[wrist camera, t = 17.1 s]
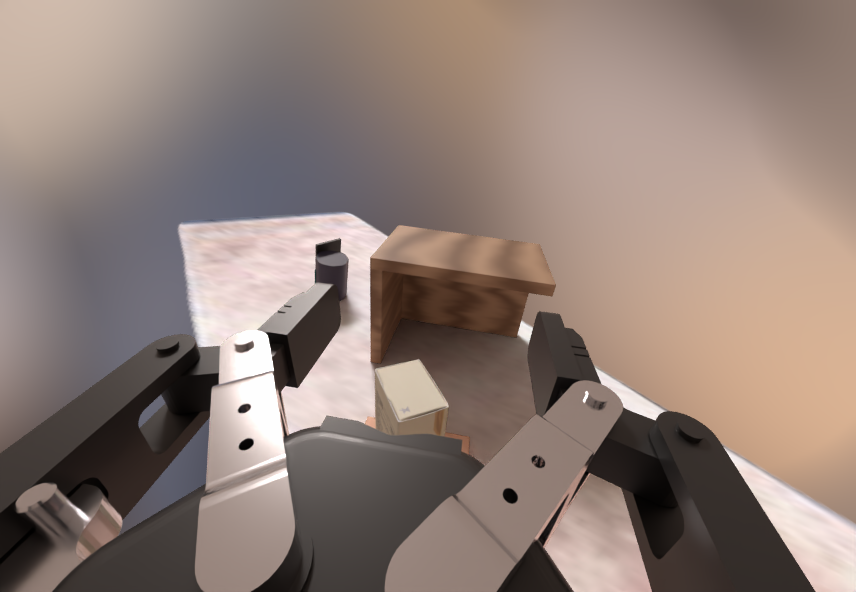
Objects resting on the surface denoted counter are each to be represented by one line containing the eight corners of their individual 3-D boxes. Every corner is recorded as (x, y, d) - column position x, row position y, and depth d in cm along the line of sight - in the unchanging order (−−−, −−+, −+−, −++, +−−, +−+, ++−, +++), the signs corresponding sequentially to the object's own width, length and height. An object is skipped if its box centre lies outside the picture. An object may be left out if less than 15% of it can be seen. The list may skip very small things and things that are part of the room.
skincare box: (437, 499, 30) (453, 409, 24) (393, 518, 29) (399, 426, 23) (412, 442, 35) (420, 356, 29) (373, 455, 34) (373, 366, 28)
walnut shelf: (515, 332, 57) (539, 244, 49) (522, 389, 45) (555, 285, 37) (395, 312, 59) (398, 225, 51) (370, 361, 47) (370, 257, 39)
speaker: (309, 286, 65) (308, 238, 59) (338, 282, 67) (339, 237, 62) (319, 308, 59) (319, 258, 54) (350, 303, 62) (353, 255, 57)
